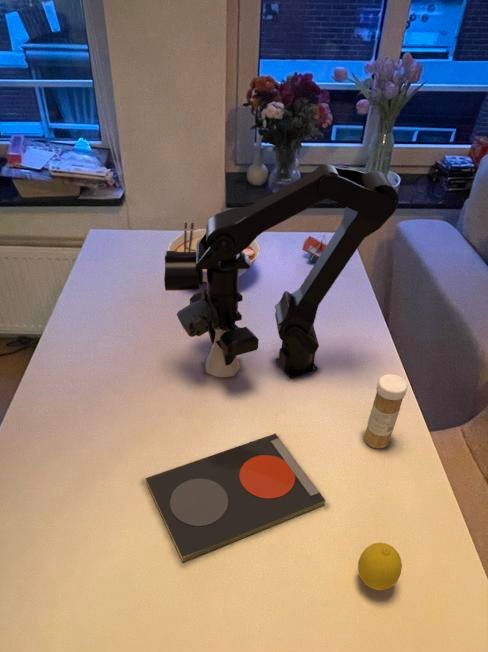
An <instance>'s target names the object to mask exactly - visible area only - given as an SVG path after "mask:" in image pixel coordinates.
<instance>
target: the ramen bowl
mask: <svg viewBox="0 0 488 652" xmlns="http://www.w3.org/2000/svg"><path fill="white" fill-rule="evenodd" d="M194 224H195V223H194V222H191V223H190V231H187V230H188V223H187V222H184V229H183V233H181V234H180V235H178V236H177V237H175V238H173V239H172V240H171V241H170V243H169V245H168V246H167V251H176V252H196V245H197V243H198V242H199V241H200V239H201V238H202V237H203V235H204V234H205V233H206V228H199V229H194V226H195V225H194ZM260 252H261V247H260V246H259V243H258V241H257V240H256V239H255V240H254V241H253V242H252V243H251V244H250V245H249V246H248V247H247V248H246V249H245V250H243V253H244V254H246V255H247V256H249V260H250V268H251V267H252V266H253V265H254V264H255V262H256V260H257V258H258V257H259V254H260ZM248 270H249V269H239V277H241V276H242V275H244V274H245V273H246V272H247V271H248ZM203 283H207V269H203Z"/></svg>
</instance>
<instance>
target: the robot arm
mask: <svg viewBox="0 0 488 652" xmlns="http://www.w3.org/2000/svg"><path fill="white" fill-rule="evenodd" d="M326 200H330V201H332V202H336V203H337V204H339V205H342V206H344V207H345V209H344V211H343V212H344V213H343V217H342V220H341V222H340V224H339V226H338V227H337V229H336V231H335V232H334V233H333V235H332V236H331V238H330V239H329V241H328V243H327V244H326V245H327V246H326V248H325V249H324V251H323V252H322V254H321V256H320V257H319V259H318V258H317V259H316V262H314V265H313V267H312V268H311V269H310V271H309V273H308V274H307V276H306V277H305V279H304V280H303V282H302V284H301V286H300V287H299V288H298V289H297V290H295V291H293V292H292V293H290V292H288V291H287V290H285V291H284V292H283V293H282V296H281V298H280V300H279V301H278V302H277V303H276V304H275V305H274V309H275V311H274V312H275V313H274V318H275V323H276V328H277V333H278V337H279V339H280V341H281V347H280V348H279V350H278V351H279V352H278V358H275V363H277V365H278V366H279V368H281V370H282V371H283V372H284V373H285V374H286V376H287V377H289V378H290V379H295V378H298V377H301V376H304V375H308V374H311V373H314V372H318V370H319V367H318V366H317V365H316V364H315V359H316V353H317V351H318V349H319V347H320V343H319V340H318V337H317V333H316V330H315V326H314V324H315V321H316V318H317V312H318V310H319V309H318V308H319V306H320V304H321V303H322V301H323V299H324V298H325V297H326V295H327V294H328V292H329V291H330V289H331V288H332V286H333V285H334V284H335V282H336V281H337V279H338V278H339V276H340V275H341V273H342V271H343V270H344V269H345V268H346V266H347V264H348V263H349V262H350V260H351V259H352V257H353V256H354V255H355V253H356V251H357V250H358V248H359V247H360V245H361V244H362V242H363V241H364V240H365V239H366V238H367V237H369V236H370V235H372V234H374V233H375V232H377V231H378V230H380V229H381V228H382V227H383V226H384V225H385V224H386V223H387V221H389V219H390V218H391V217H392V216H393V215H394V214H395V212H396V210H397V209H398V207H399V203H400V201H399V195H398V192H397V190H396V188H395V187H394V186H393V185H392V182H391V181H390V180H389V179H388V177H387V176H386V175H385V174H384V173H383V172H381V171H379V170H373V171H369V172H368V171H367V172H364V171H362V170H361V171H360V170H357V169H353V168H345V167H339V166H335V165H332V164H329V163H324V164H320V165H319V166H318V167H317V168H315V169H314V170H313V171H311V172H310V173H308V174H306V175H304V176H302V177H300V178H298V179H297V180H295V181H293V182H291V183H289V184H287V185H285V186H284V187H282V188H281V189H278V190H276V191H275V192H273V193H271V194H269V195H267V196H265V197H264V198H261V199H260V200H258V201H256V202H255V203H252V204H250V205H247V206H241V207H233V208H230V209H227V210H224V211H221V212H218V213H216V214H214V215H213V216H211V217H210V218H209V219H208V221H207V224H206V227H205V229H206V233H205V234H204V235H203V237H202V238H201V239H200V241H199V242H198V243H197V245H196V252H176V251H168V250H165V252H164V274H163V275H164V277H163V280H164V290H165V291H166V292H169V291H170V292H171V291H197V290H200V286H201V285H202V286H203V285H204V282H203V269H207V282H206V289H203V290H202V291H201V292H197V293H193V294H192V296H191V297H190V298H189V304H188V305H186V306H184V307H183V308H181V309H180V310H178V311H177V312H176V317H177V319H178V320H179V323H180V325H181V327H182V329H184V331H185V332H186V334H187V336H189V337H191V338H193V337H201V336H203V335H205V334H207V333H208V336H209V339H210V342H211V345H212V346H213V344H214V340H215V335H216V331H215V328H218V329H219V330H220V331H224V330H225V331H226V332H224V333H223V335H222V336H221V337H220V340H218V341H215V342H216V343H217V344H218V346H219V347H220V348H221V349H222V350H223V355H224V361H225V365H226V366H227V365H230V364H231V363H232V362H233V360H234V359H235V357H236V356H237V357H238V356H240V355H243V354H247V353H251V352H255V351H257V350H258V349H259V340H260V339H259V338H258V337H257V335H255V333H254V332H253V331H252V330H251V329H250V328H249V327H247V326H244V327H241V326H239V325H238V324H237V323H236V322H239V321H242V320H243V314H242V313H241V312H240V311H239V302H243V298H244V296H243V295H242V293H241V292H240V291H239V290H240V289H239V288H240V285H239V284H240V283H239V282H240V276H239V269H248V270H249V269H251V267H250V260H249V256H247V255H246V254H244V253H243V250H245V249H246V248H247V247H248V246H249V245H250V244H251V243H252V242H253V241H254V240H256V239H257V237H259V236H260V235H261V234H263V233H264V232H266V231H268V230H270V229H271V228H273V227H276V226H278V225H280V224H281V223H283V222H285V221H287V220H289V219H291V218H293V217H294V216H296V215H298V214H300V213H302V212H304V211H306V210H308V209H309V208H312V207H314V206H316V205H317V204H319V203H321V202H324V201H326Z"/></svg>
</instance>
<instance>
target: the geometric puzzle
mask: <svg viewBox="0 0 488 652" xmlns="http://www.w3.org/2000/svg"><path fill="white" fill-rule="evenodd" d="M317 236H319V237H317V238H315V237H313V236H311V235H309V236H308V237H306V238H305V240H304V241H303V243H302V249H301V250H302V251H303V253H307V255H308V257H309V255H310V256H311V258H310V259H309V260H308V263H309V264H312V263H314V261H312V260H313V258H316V259H317V260H318V259H319V257H320V256H321V254H322V252H323V251H324V249H325V248H326V246H327V245H328V244H327V241H326V240H325V242H323V240H324V239H325V238H327V237H326V234H324V235H322V236H323V237H322V239H321V240H318V239H319V238H320V234H319V235H317Z"/></svg>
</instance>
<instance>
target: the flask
mask: <svg viewBox="0 0 488 652" xmlns="http://www.w3.org/2000/svg"><path fill="white" fill-rule="evenodd" d="M215 331H216V335H215V340H214V344H213V345H212V346H211V349H210V352H209V354H208V355H207V359H206V360H205V363H204V366H205V372H206V374H209V375H212V376H214V377H217V378H226V377H234V376H235V375H236V374H237V372H239V370H240V369H241V368H240V362H239V359H238V355H237V356H236V357H235V359H234V360H233V362H232V363H231V364H230V365H227V366H226V365H225V361H224V355H223V350H222V349H221V348H220V347H219V346H218V344H217V343H216V342H215V341H218V340H220V337H221V336H222V335H223V333H224V332H226V331H225V330H224V331H220V330H219V329H218V328H215Z"/></svg>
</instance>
